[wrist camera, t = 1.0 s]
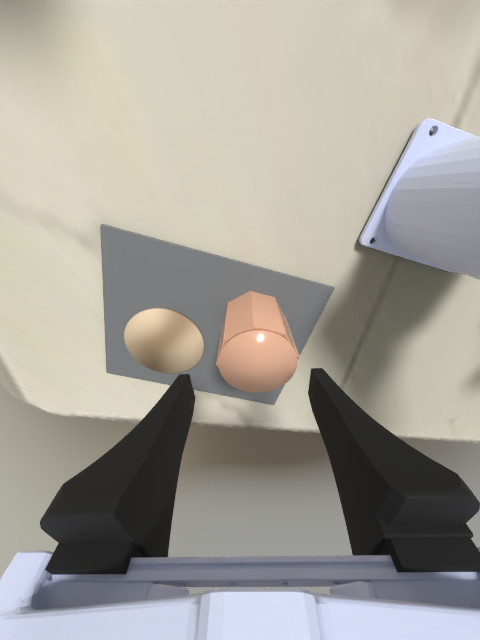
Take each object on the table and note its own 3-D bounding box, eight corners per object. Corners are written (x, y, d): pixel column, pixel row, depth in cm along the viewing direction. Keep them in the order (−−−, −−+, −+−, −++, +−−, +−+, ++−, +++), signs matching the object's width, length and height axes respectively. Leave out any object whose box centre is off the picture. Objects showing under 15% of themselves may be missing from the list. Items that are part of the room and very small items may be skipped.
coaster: (210, 318, 21) (210, 320, 21) (197, 377, 25) (196, 379, 25) (125, 298, 20) (124, 300, 20) (124, 363, 24) (123, 364, 24)
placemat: (332, 286, 20) (334, 288, 20) (273, 402, 28) (273, 405, 27) (103, 224, 18) (100, 224, 17) (108, 370, 25) (106, 372, 25)
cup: (291, 301, 20) (310, 342, 15) (271, 348, 23) (281, 398, 17) (232, 285, 20) (228, 323, 14) (218, 336, 22) (210, 385, 17)
